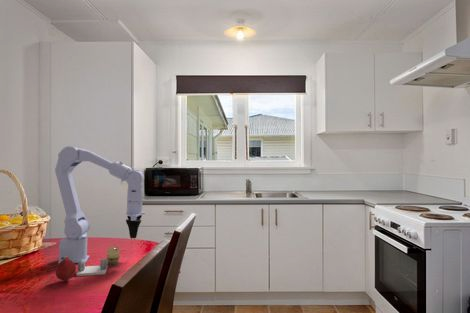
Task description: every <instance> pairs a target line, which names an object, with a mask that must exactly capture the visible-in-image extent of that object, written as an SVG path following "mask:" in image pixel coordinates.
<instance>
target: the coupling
mask: <svg viewBox="0 0 470 313" xmlns="http://www.w3.org/2000/svg"><path fill="white" fill-rule="evenodd" d="M120 256H121V255H120V247H119V246H109V247H107V254H106V259H107V265H108V266H109V267H113V266H114V267H115V266H117V265H119V263H120V262H119V261H120V260H119V259H120Z"/></svg>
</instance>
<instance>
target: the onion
mask: <svg viewBox="0 0 470 313" xmlns="http://www.w3.org/2000/svg"><path fill="white" fill-rule="evenodd" d="M58 263H59V262H58ZM58 263H57V265H56V267H55V276H56V277H57V279H59V280H60V281H63V282H68V281H69V280H70V279H71V278H72V277H73V276H74V275H75V273H77V265H76V263H74V262H73V261H71V260H69V257H68V256H67V257H65V258H64V259H63V260H62V261H61V262H60V263H59V264H58Z"/></svg>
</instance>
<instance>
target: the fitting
mask: <svg viewBox="0 0 470 313" xmlns="http://www.w3.org/2000/svg"><path fill="white" fill-rule="evenodd" d="M107 270H108V265H107V258H105V257H103V258H102V259H100V264H99V265H87V266H86V262H85V260H83V259H81V261H79V262H78V263H77V271H76V277H83V276H84V277H85V276H95V275H96V276H98V275H106V272H107Z"/></svg>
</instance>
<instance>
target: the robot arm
mask: <svg viewBox="0 0 470 313" xmlns="http://www.w3.org/2000/svg"><path fill="white" fill-rule="evenodd" d="M57 157H58V158H57V162H56V166H55V169H54V171H55V177H56V180H57V184H58V187H59V191H60V195H61V200H62V203H63V208H64V211H65V214H66V215H65V219H64V229H63V230H64V231H63V232H64V236H66V237H61V239H60V240H59V247H58V263H57V265H58V264H59V263H60V262H61V261H62V260H63V259H64V258H65V257H67V256H68V257H69V260H71V261H73V262H74V264H78V262H79V261H81V259H83V260H85V263H87V261H88V260H89V258H90V255H88V234H87V232H88V231H89V230H90V226H91V224H90V222H89V220H88V219H87V218H86V215H85V213H84V212H83V211H82V209H81V204H80V200H79V196H78V193H77V189H76V185H75V182H74V181H75V180H74V178H73V171H74V170H75V168H76V167H77V166H79V165H80V164H81V163H82V162H90V163H92V164H95V165H97V166H99V167H101V168H103V169H106V170H108V173H109V175H111V176H113V177H116V178H117V179H120V180H121V181H125V182H126V183H127V198H126V200H127V201H126V212H125V215H126V216H127V219H125V223H126V225H127V226H128V233H129V238H130V239H137V236H138V230H139V227H140V224H141V223H142V215H145V214H146V211H143V191H144V190H143V182H144V180H145V175H144V173H143V172H142V171H141V170H139V169H136V168H135V167H133V166H132V167H130V166H129V165H126V164H125V163H124V162H123V161H110V160H108V159H107V158H104V157H103V156H101V155H99V154H98V153H95V152H93V151H91V150H88V149H85V148H83V147H80V146H76V147H75V146H69V145H68V146H65V147H63V148H62V149H61V150H60V152H59V153H58V154H57ZM135 169H136V170H135Z"/></svg>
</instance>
